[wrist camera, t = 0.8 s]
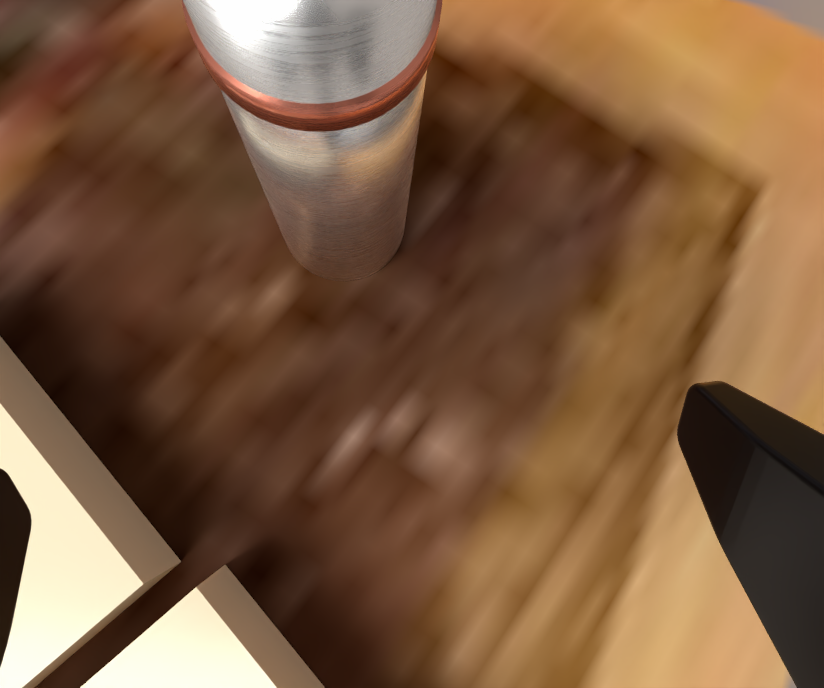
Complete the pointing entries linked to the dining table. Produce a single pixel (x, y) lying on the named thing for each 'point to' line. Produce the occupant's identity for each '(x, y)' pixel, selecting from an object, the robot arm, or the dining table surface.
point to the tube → (325, 115)
